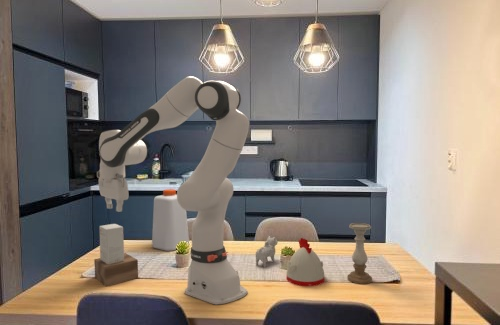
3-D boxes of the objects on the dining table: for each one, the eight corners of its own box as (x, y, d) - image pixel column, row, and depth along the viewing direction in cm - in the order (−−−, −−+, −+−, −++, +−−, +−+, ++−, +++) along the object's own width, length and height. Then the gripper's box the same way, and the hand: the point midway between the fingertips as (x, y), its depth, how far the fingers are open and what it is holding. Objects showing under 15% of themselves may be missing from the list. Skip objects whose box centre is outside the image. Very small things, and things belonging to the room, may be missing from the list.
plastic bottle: (192, 244, 183) (191, 189, 182) (170, 252, 171) (168, 192, 169) (171, 240, 192) (170, 187, 190) (148, 247, 179) (146, 190, 178)
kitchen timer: (312, 270, 145) (311, 233, 144) (331, 282, 132) (331, 241, 131) (280, 275, 140) (280, 236, 139) (297, 288, 127) (297, 246, 126)
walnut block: (138, 278, 139) (137, 259, 138) (106, 286, 131) (105, 267, 131) (125, 269, 148) (125, 252, 148) (94, 277, 140) (94, 259, 140)
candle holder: (342, 277, 137) (342, 223, 136) (361, 274, 140) (362, 221, 139) (357, 285, 129) (357, 228, 128) (377, 282, 132) (377, 226, 131)
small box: (124, 261, 137) (123, 226, 136) (107, 265, 133) (106, 229, 132) (116, 256, 143) (115, 223, 143) (99, 259, 139) (98, 225, 138)
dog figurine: (280, 259, 159) (280, 235, 158) (264, 268, 148) (264, 242, 148) (270, 257, 162) (270, 233, 161) (253, 265, 151) (253, 240, 151)
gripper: (132, 174, 132) (133, 212, 132) (111, 171, 147) (113, 205, 148) (114, 175, 127) (116, 214, 128) (95, 172, 143) (96, 207, 144)
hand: (114, 209), depth 138 cm, fingers open, 8 cm apart
